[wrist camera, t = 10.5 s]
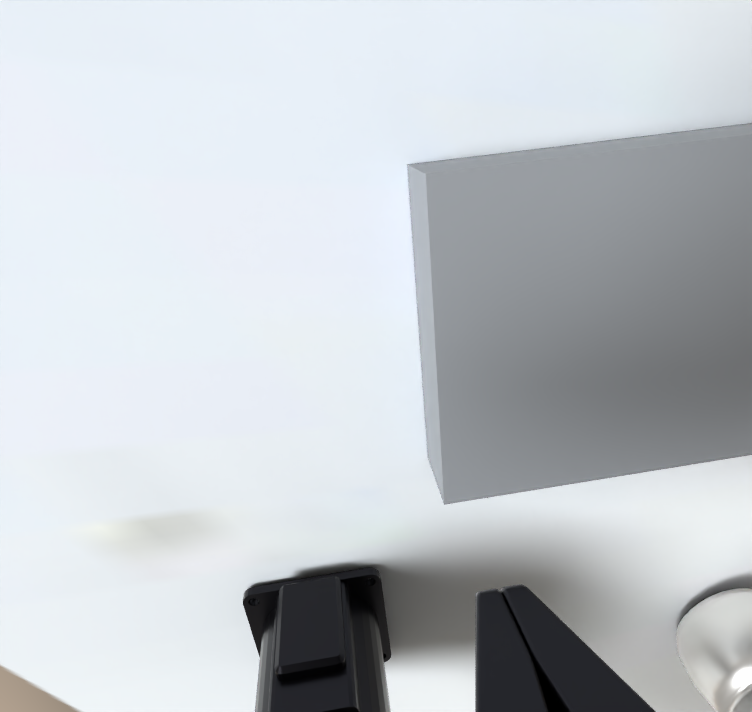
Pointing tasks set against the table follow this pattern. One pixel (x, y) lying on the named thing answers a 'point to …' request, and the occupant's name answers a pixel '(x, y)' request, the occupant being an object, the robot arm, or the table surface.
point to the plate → (584, 309)
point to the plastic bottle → (720, 649)
